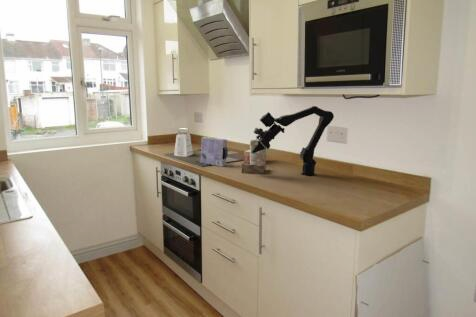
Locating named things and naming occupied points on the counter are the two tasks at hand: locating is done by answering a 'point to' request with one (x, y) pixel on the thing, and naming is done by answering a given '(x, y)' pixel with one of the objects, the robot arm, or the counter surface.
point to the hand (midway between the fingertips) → (252, 152)
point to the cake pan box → (214, 151)
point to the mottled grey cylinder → (254, 156)
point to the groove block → (253, 168)
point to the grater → (183, 144)
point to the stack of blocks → (261, 155)
